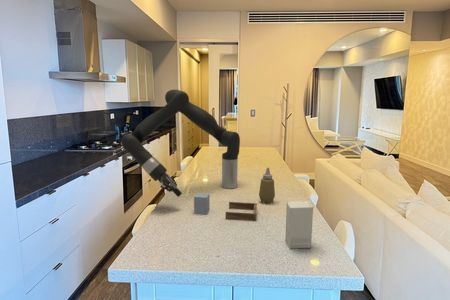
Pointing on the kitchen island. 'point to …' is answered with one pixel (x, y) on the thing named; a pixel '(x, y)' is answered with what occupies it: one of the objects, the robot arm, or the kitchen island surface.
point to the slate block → (201, 203)
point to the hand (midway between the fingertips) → (180, 195)
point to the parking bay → (242, 215)
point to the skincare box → (299, 224)
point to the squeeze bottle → (267, 188)
